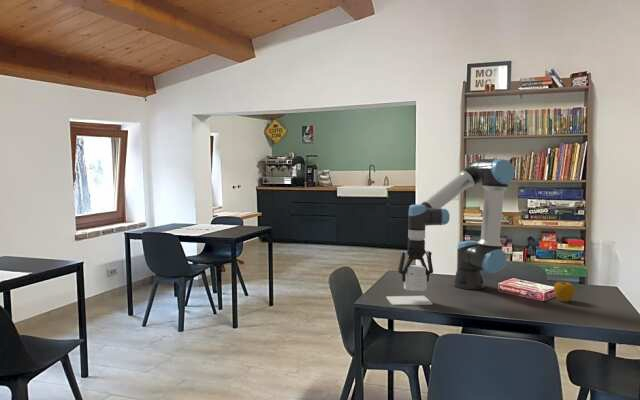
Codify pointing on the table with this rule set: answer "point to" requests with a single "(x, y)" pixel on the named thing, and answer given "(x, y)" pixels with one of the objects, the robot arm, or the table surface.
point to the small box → (416, 277)
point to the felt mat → (408, 300)
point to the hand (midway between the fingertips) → (415, 288)
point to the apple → (564, 291)
